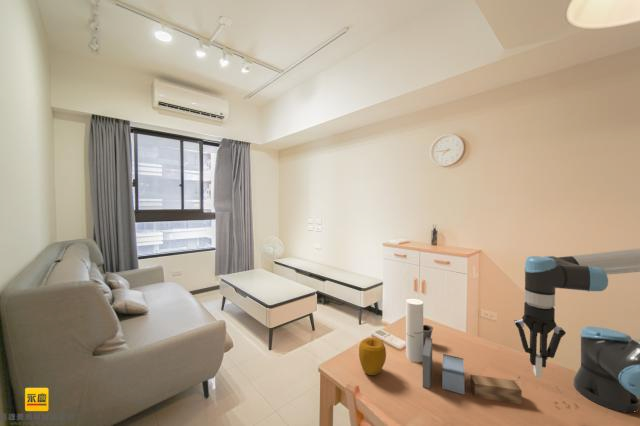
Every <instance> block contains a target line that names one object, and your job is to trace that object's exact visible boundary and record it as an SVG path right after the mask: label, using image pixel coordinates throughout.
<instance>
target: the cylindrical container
mask: <svg viewBox="0 0 640 426" xmlns="http://www.w3.org/2000/svg"><path fill="white" fill-rule="evenodd" d="M423 325H424V301H423V300H422V299H418V298H407V299H405V347H406V348H405V357H406V359H407V360H409V361H411V362H412V363H413V362H414V363H421V362H422V363H423V350H424V345H423Z"/></svg>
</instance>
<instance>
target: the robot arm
mask: <svg viewBox="0 0 640 426" xmlns="http://www.w3.org/2000/svg"><path fill="white" fill-rule="evenodd" d="M631 273H632V274H634V273H640V248H639V247H638V248H632V249H631V248H629V249H621V250H613V251H603V252H595V253H585V254H578V255H577V254H575V255H569V256H568V255H567V256H560V257H559V256H558V257H556V256H554V255H545V256H538V255H535V256H534V255H532V256H527V257H526V259H525V264H524V301H525V302H524V303H523V304H524V307H523V308H524V309H523V315H522V317H521V319H519V320H517V319H514V321H513V322H514V325H515V327H516V328H517V330H518V333H519V337H520V341H521V345H522V348H523V350H524V352H525V353H527V354H529V362H530V364H531V365H532V366H533V368H532V369H533V370H532V371H533V374H534V376H535V378H540V379H542V378H543V368H546V366H547V360H548V358H551V359H554V358H555V355H556V353H557V350H558V348H559V345H560V342H561V340H562V338H563V337H564V336H565V335H566V331H565V330H564V329H563V328H562V327H560V326H558V325H557V323H556V321H555V319H556V318H555V315H556V314H555V310H556V309H555V306H556V289H565V290H575V291H586V292H603V291H605V290H606V289H607V287H608V285H609V278H608V277H609V275H618V274H619V275H620V274H621V275H623V274H631ZM525 326H526V327H527V329H529V345H528V341H527V337H526V333H525V330H524V327H525ZM550 332H553V334H552V336H551V339H550V342H549V345H548V338H549V337H548V336H549V333H550ZM538 334H539V353H537V350H538V348H537V345H538V344H537V342H538ZM573 388H574V389H575V390H576V391H577V392H578V393H579V394H581V395H582V396H584V397H585V398H587V400H590V401H592V402H594V403H596V404H598V405H600V406H602V405H603V406H602V407H604V408H607V407H608V409H610V408H611V410H613V409H614V410H613V411H617V410H618V411H617V412H621V411H626V412H625V413H628V412H633V413H635V412H634V411H637V410H638V411H639V410H640V400H639V399H640V339H639V338H633V339H632V337H631V336H630V335H629V334H627V333H625V332H622V331H619V330H615V329H609V328H605V327H598V326H584V327H582V328H581V333H580V367H579V369H578V370H577V371H576V374H575V376H574V378H573ZM638 411H637V412H638Z"/></svg>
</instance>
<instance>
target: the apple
mask: <svg viewBox="0 0 640 426" xmlns="http://www.w3.org/2000/svg"><path fill="white" fill-rule="evenodd" d="M358 357H359V362H360V366H361V369H362V370H363V372H364V373H365V374H366V375H369V376H375V375H378V374H379V373H380V372H381V371H382V369H383V367H384V365H385V362H386V359H387V350H386V346H385V344H384V342H383V341H382V340H380V339H379V338H375V337H367V338H364V339H363V340H361V341H360V343H359V347H358Z"/></svg>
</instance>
